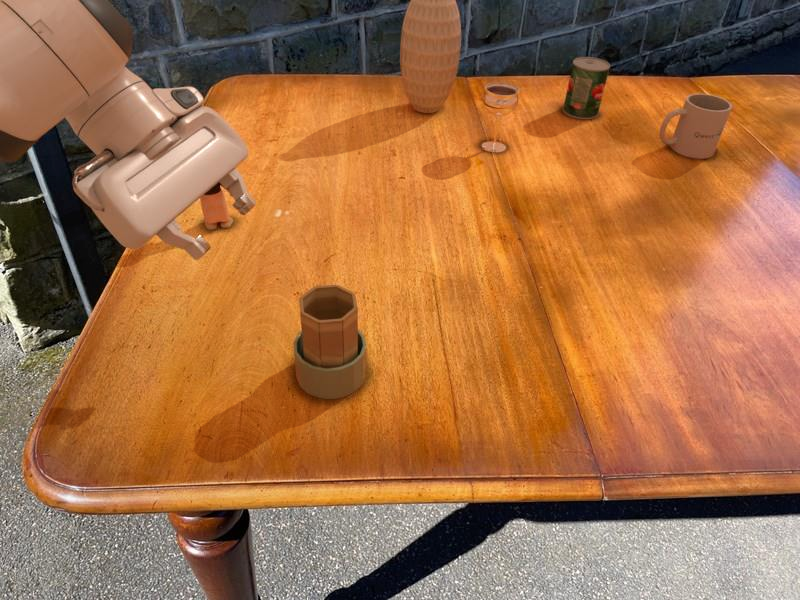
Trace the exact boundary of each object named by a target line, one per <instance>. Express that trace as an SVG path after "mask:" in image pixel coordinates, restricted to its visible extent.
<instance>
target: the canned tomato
mask: <svg viewBox="0 0 800 600" xmlns="http://www.w3.org/2000/svg"><path fill="white" fill-rule="evenodd" d="M610 68H611V64H610V63H609V62H608V61H607V60H605V59H602V58H598V57H593V56H580V57H579V56H578V57H576V58H574V59H573V60H572V66H571V70H570V75H569V80H568V84H567V89H566V94H565V98H564V103H563V107H562V112H563V113H564V114H565V115H566V116H568V117H571V118H574V119H578V120H592V119H595V118H597V117H598V116H599V111H600V108H601V104H602V100H603V95H604V93H605V88H606V85H607V84H606V83H607V80H608V76H609V72H610Z"/></svg>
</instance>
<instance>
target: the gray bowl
mask: <svg viewBox="0 0 800 600" xmlns="http://www.w3.org/2000/svg"><path fill="white" fill-rule="evenodd" d="M292 345H293V356H294V357H293V358H294V367H295V378H296V381H297V383H298V385H299V387H300V388H301V389H302V390H303V391H304V392H305V393H306V394H308V395H310V396H312V397H315V398H318V399H324V400H336V399H341V398H345V397H347V396H350V395H351V394H353V393H355V392H356V391H357V390H358V389H359V388H361V386H362V385H363V384H364V381H365V379H366V373H367V341H366V336H365V334H364V333H363V332H362V331H361V330H360V329H359V328H358V357H357V358H356V359H355V360H353V361H352V362H351V363H349V364H346V365H344V366H341V367H336V368H321V367H316V366H313V365H311V364H309V363H307V362H306V361H304V353H303V341H302V330H300V331H299V332H298V333H297V334H296V336H295V339H294V340H293V343H292Z"/></svg>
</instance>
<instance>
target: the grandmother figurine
mask: <svg viewBox="0 0 800 600" xmlns="http://www.w3.org/2000/svg"><path fill="white" fill-rule="evenodd" d="M221 187H222V188H223V189H224V190H225V191H226V192H227V193H229V196H230V197H231V198H234V197H233V195H232V193H231V191H230V188H229V187H228V188H227V189H225V188H224V187H223V186H222V185H221V184H220V183H219V182H218V183H217V184H216V185H215V186H214V187H212V188H211V189H210V190H209V191H208V192H206V193H205V194H204V195H203V196H202V197H200V198H199V200H200V205H201V212H202V214H203V218H204V225H205V227H206V229H207V230H210V231H212V230H216V229H217V228H218V223H220V227H221V228H223V229H227V228H230V227H231V226H232V224H233V223H234V219H233V217H231V216H230V213H229V208H228V205H227V202H226V197H225V193H224V191H223V190H222V188H221Z"/></svg>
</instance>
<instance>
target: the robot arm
mask: <svg viewBox="0 0 800 600" xmlns="http://www.w3.org/2000/svg"><path fill="white" fill-rule="evenodd" d="M133 33H134V30H133V27H132V26H131V24H130V22H129V21H128V20H127V18H125V16H123V14H121V13H120V11H119V10H118V9H117V8H116V7H115V6H114V5H113V3H111V2H110V1H109V0H0V164H4V163H6V164H7V163H16V162H18V161H19V160H20V159H21V158H22V157H23V156H24V155H25V154H26V153H27V152H28V151H29V150H30V149H31V148H32V147H33V146H34V145H36V144H37V143H38V141H40V138H42V137H43V136H44V135H45V134H46V133H47V132H49V131H50V130H51V129H53V128H54V127H55V126H56V125H58V124H59V123H60V122H61V121H63V120H64V119H65V120H66V121H67V123H68V124H69V125H70V127H71V128H72V131H73V133H74V134H75V135H76V137H78V138H79V139H80V140H81V142H82V143H84V145H86V147H88V148H89V149H90V150H91V151H92V153H94V154H95V155H96V156H94V157H93V158H92V159H90V161H88V162H86V163H83V164H81V165H79V166H78V167H77V168H76V169H75V170H74V173H73V174H74V176H73V178H72V188H73V192H74V193H75V194H76V195H77V196H78V197H79V198H80V200H81V201H83V202H84V203H85V204H86V205H87V206H88V207H90V209H91V210H92V212H93V213H94V214H95V216H96V217H97V218H98V219H99V221H100V222H101V223H102V225H103V226H104V228H106V230H108V232H109V233H110V234H111V235H112V236H113V238H114V239H115V240H116V241H117V242H118V243H119V244H120V245H121V246H122V247H124V248H127V249H130V250H134V251H139V250H140V249H141V248H142V247H144V246H145V245H146V244H148V242H149V241H151V240H152V239H153V238H154V237H155V236H157V237H158V238H159V239H160V240H161V241H162V242H163V243H164V244H165V245H169V246H171V247H175V248H178V249H180V250H184V251H185V252H186V253H187V254H188V255H189V256H190V257H191V258H192V259H193V260H195V261H198V260H200V259H201V258H202V257H203V256H205V255H206V254H207V253H208V252H209V251H210V249H211V247H212V246H211V244H210V243H209V242H207V241H206V239H205V238H204V237H203V236H202V235H201V234H199V235H198V236H197V237H194V236H191V235H189V234H187V233H185V232H183V231H181V229H182V225H181V224H179V222H178V221H177V220H176V219H177V218H178V217H179V216H181V215H182V214H183V213H184V212H185V211H187V210H188V209H189V208H190V207H191V206H192V205H194V204H195V203H196V202H197V201H198V200H200V197H202V196H203V195H204V194H205V193H206V192H208V191H209V190H210V189H211V188H212V187H214V186H215V185H216V184H217V183H218V182H219V183H220V184H221V185H222V186H223V187H224V188H225V189H224V188H223V187H222V186H221V185H220V186H221V187H222V188H223V189H224V190H226V189H227V188H228V187H229V188H230V191H231V193H232V195H233V197H232V198H233V200H234V203H232V204H231V206H232V207H233V208H234V209H235V210H236V211H238V214H239V215H242V216H245V215H246V214H248V213H249V212H250V211H251V210H252V209H254V207H255V206H256V205H257V202H256V200H255V199H254V198H253V197H252V196H251V195H250V193H248V189H247V187H246V184H245V182H244V177H243V175H242V174H241V173H240V171H238V170H237V167H238V166H240V165H241V164H242V163H243V162H244V161H245V160H247V159H248V157H249V150H248V147H247V144H246V142H245V141H244V140H243V138H242V137H241V136H240V135H239V134H238V133H237V131H236V130H235V129H234V128H233V127H232V126H231V124H229V122H228V121H226V120H225V118H224V117H223V116H222V115H221V114H219V113H218V112H217V111H216V110H214V109H213V108H211V107H209V106H206V105H205V106H204V105H202V104H203V103H204V101H205V99H204V96H203V95H202V94H201V92H200V91H199V90H198V89H197V88H195V87H194V86H180V87H170V88H169V87H168V88H167V87H166V88H159V87H158V88H153V89H152V88H151V87H150V86H149V85H148V83H147V82H146V81H144V80H143V79H142V78H141V77H139V75H137V74H135V73H134V72H132V71H131V70H130V69H129V68H127V67H126V65H127V63H128V62H130V61H131V56H132V49H133V37H134V36H133Z"/></svg>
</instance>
